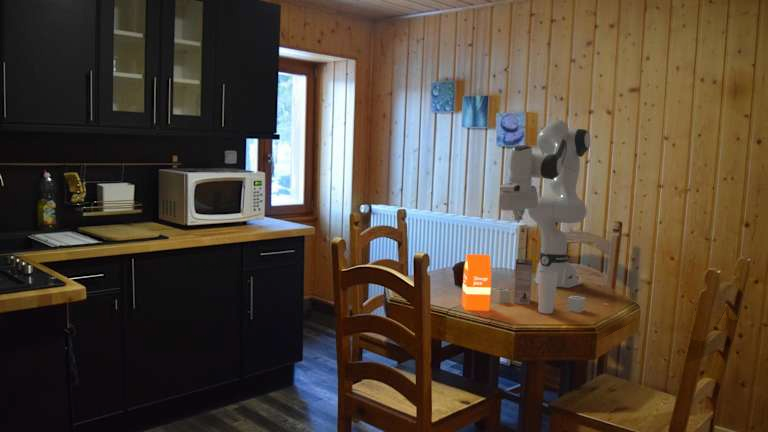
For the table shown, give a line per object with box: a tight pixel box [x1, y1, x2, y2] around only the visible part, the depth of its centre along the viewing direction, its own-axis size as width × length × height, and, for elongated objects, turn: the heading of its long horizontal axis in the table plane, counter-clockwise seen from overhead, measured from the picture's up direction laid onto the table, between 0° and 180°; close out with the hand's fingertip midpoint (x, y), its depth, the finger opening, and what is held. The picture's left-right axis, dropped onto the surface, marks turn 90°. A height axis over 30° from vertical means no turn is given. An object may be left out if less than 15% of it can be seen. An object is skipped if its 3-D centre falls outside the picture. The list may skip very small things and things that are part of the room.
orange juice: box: [461, 253, 493, 312], centre depth 240 cm, size 8×9×20 cm
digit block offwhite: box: [566, 295, 586, 314], centre depth 243 cm, size 5×5×5 cm
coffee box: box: [513, 258, 533, 305], centre depth 254 cm, size 9×6×16 cm
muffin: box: [451, 260, 466, 288], centre depth 282 cm, size 12×11×10 cm
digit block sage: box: [490, 287, 511, 305], centre depth 253 cm, size 5×5×5 cm
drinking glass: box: [537, 271, 558, 315], centre depth 238 cm, size 7×7×15 cm
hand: (518, 220), depth 263 cm, fingers closed
